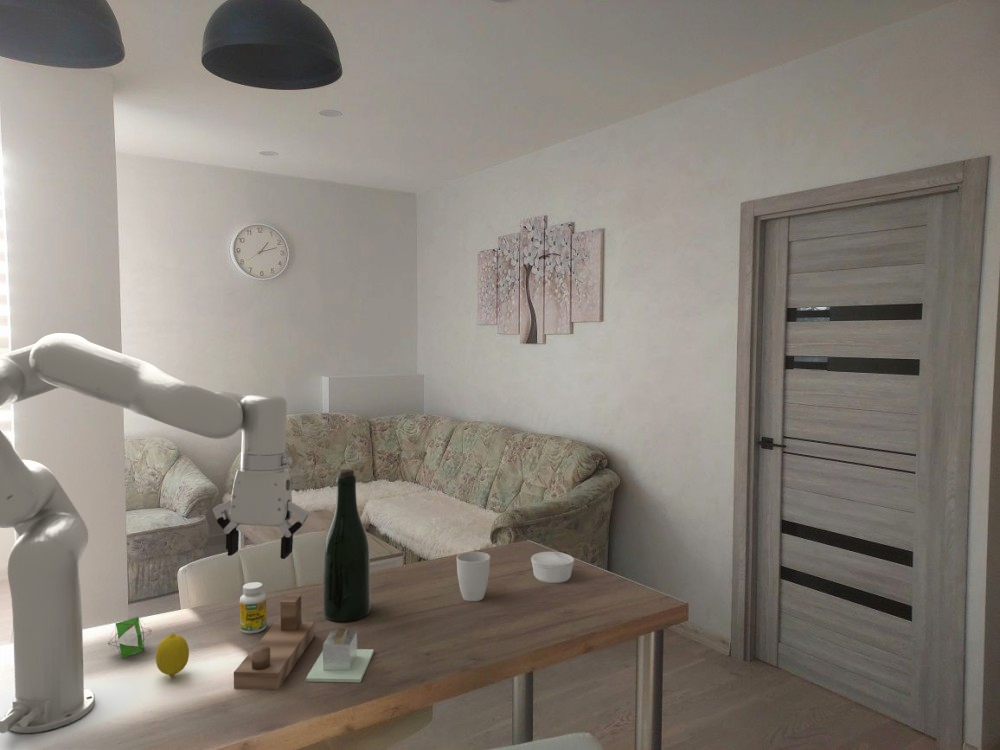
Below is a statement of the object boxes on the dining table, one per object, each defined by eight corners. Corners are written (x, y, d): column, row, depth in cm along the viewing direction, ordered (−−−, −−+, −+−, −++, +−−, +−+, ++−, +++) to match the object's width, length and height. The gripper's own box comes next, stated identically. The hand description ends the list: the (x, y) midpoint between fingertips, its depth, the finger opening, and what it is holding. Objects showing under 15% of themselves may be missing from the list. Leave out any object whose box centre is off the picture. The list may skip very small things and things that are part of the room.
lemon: (167, 686, 124) (166, 643, 124) (149, 678, 127) (149, 635, 127) (195, 674, 129) (194, 632, 128) (177, 666, 132) (177, 625, 131)
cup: (496, 595, 169) (496, 555, 168) (477, 606, 162) (477, 564, 162) (468, 588, 173) (469, 549, 173) (449, 599, 166) (449, 558, 166)
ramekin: (582, 577, 183) (582, 557, 182) (557, 588, 174) (557, 568, 174) (548, 567, 190) (548, 548, 190) (522, 578, 182) (522, 558, 181)
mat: (360, 682, 126) (360, 679, 126) (305, 681, 126) (305, 678, 126) (373, 652, 138) (373, 649, 138) (323, 651, 138) (323, 648, 138)
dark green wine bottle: (376, 618, 155) (375, 472, 153) (328, 626, 150) (327, 475, 148) (363, 601, 164) (363, 464, 162) (318, 609, 160) (317, 467, 158)
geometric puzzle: (101, 640, 138) (109, 615, 134) (137, 629, 143) (146, 605, 140) (113, 670, 134) (121, 646, 131) (149, 658, 140) (159, 634, 136)
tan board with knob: (278, 689, 123) (277, 640, 123) (233, 688, 124) (233, 639, 123) (314, 636, 145) (313, 594, 145) (276, 635, 146) (275, 593, 145)
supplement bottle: (262, 621, 152) (262, 579, 152) (269, 630, 148) (269, 586, 147) (237, 627, 149) (236, 583, 149) (243, 636, 145) (242, 591, 144)
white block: (349, 671, 129) (349, 640, 129) (323, 670, 129) (322, 640, 129) (357, 656, 135) (356, 627, 135) (331, 655, 135) (331, 626, 135)
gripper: (315, 461, 129) (312, 552, 130) (224, 456, 130) (221, 546, 130) (303, 468, 122) (299, 564, 123) (206, 462, 122) (202, 558, 123)
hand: (259, 555), depth 127 cm, fingers open, 9 cm apart
